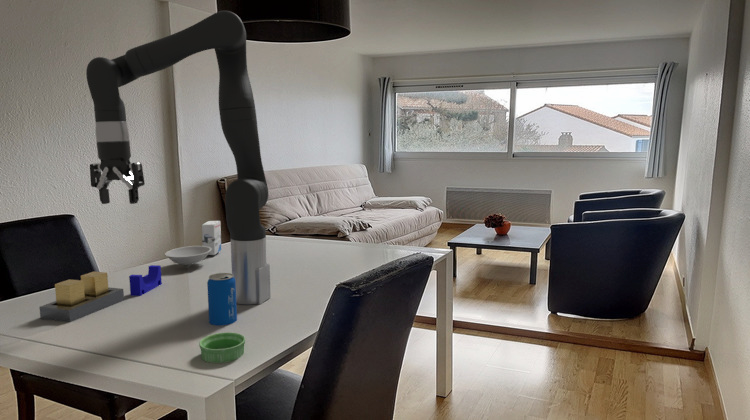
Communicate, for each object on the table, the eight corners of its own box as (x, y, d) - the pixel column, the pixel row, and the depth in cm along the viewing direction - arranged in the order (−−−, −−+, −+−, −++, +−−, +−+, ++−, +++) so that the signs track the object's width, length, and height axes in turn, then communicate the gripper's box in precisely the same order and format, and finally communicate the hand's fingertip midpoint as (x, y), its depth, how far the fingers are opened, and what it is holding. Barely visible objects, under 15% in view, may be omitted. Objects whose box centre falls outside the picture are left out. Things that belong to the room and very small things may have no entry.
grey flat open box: (124, 301, 144) (123, 288, 144) (70, 324, 127) (69, 310, 127) (97, 298, 147) (96, 286, 146) (40, 320, 130) (39, 306, 129)
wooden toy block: (85, 311, 135) (83, 280, 134) (72, 316, 131) (69, 285, 129) (71, 309, 136) (69, 279, 135) (57, 315, 132) (54, 284, 130)
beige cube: (109, 301, 142) (107, 272, 141) (96, 306, 138) (94, 277, 137) (95, 300, 143) (93, 271, 142) (83, 305, 139) (80, 275, 138)
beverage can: (222, 331, 123) (220, 281, 121) (203, 325, 126) (201, 277, 125) (242, 322, 128) (241, 274, 127) (224, 317, 132) (222, 271, 130)
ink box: (209, 250, 206) (208, 220, 205) (222, 250, 206) (221, 220, 205) (202, 255, 198) (200, 224, 196) (215, 255, 198) (214, 224, 196)
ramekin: (190, 366, 105) (189, 345, 104) (219, 349, 113) (218, 329, 112) (227, 374, 102) (227, 352, 101) (254, 355, 110) (254, 335, 109)
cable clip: (147, 284, 161) (146, 265, 160) (161, 284, 161) (160, 265, 160) (125, 296, 149) (124, 275, 148) (140, 296, 149) (139, 276, 148)
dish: (193, 273, 173) (192, 258, 172) (155, 270, 177) (154, 255, 176) (221, 260, 190) (220, 246, 189) (185, 258, 193) (185, 244, 193)
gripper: (147, 139, 135) (153, 201, 138) (100, 140, 139) (107, 201, 141) (126, 139, 128) (133, 205, 130) (78, 141, 132) (85, 205, 134)
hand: (119, 203), depth 136 cm, fingers open, 8 cm apart
